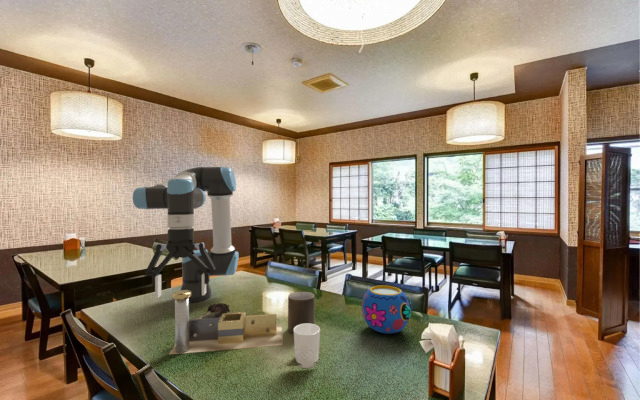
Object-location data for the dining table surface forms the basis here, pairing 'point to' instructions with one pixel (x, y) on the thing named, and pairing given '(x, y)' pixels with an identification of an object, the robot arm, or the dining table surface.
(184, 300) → the hinge pin
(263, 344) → the mounting board
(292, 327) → the pillar candle
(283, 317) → the dining table surface
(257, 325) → the hinge
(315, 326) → the white cup
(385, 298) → the ceramic pot
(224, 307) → the branch with fungus
